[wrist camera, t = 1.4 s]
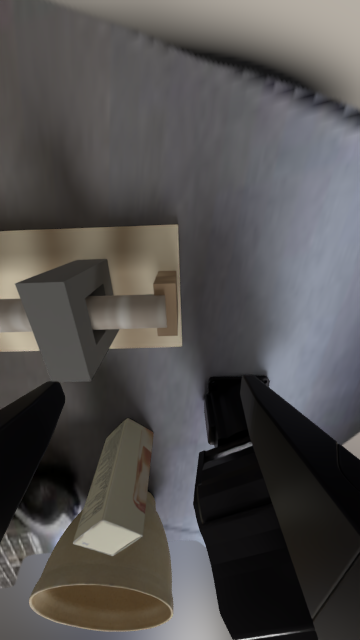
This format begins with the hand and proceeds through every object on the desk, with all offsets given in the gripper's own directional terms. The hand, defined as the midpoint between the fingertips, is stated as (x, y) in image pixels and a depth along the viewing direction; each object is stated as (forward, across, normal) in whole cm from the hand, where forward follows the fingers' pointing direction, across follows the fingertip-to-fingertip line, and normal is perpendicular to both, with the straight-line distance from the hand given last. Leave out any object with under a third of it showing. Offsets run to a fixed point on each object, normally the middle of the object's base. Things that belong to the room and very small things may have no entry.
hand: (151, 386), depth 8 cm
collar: (+11, +6, 0) cm, 12 cm away
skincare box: (+12, +6, +19) cm, 23 cm away
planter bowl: (+12, +9, +34) cm, 37 cm away
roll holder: (+12, +10, 0) cm, 16 cm away
